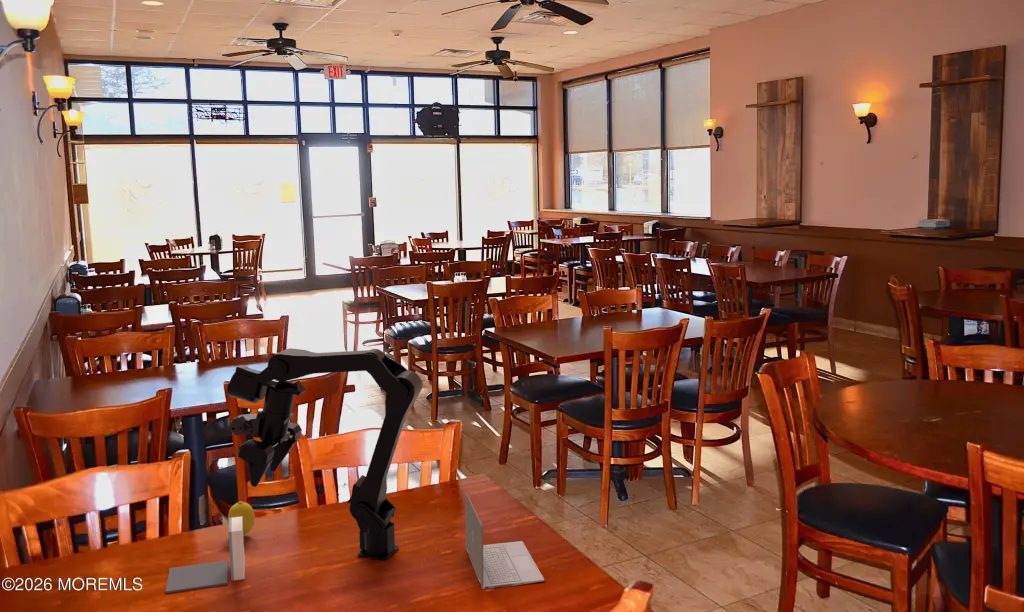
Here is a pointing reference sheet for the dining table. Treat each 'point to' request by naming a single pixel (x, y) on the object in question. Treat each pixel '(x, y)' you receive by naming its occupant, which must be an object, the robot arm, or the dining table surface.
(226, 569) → the mat
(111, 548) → the dining table surface
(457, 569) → the dining table surface
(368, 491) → the robot arm
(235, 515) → the lemon
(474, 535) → the laptop
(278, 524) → the dining table surface
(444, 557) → the dining table surface
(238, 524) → the white rectangular block
